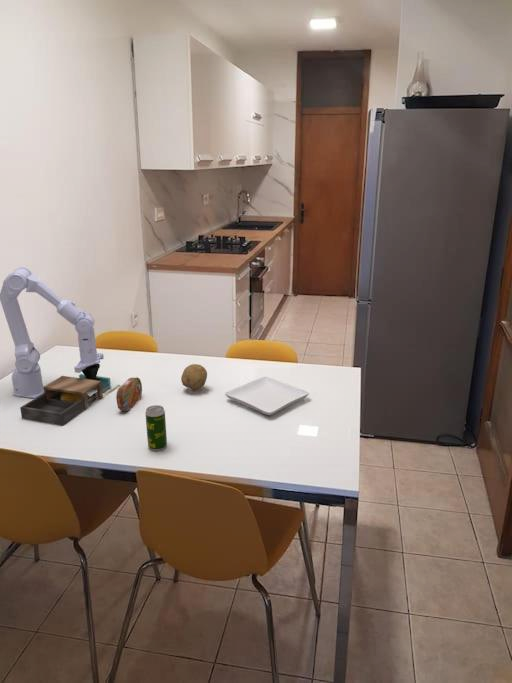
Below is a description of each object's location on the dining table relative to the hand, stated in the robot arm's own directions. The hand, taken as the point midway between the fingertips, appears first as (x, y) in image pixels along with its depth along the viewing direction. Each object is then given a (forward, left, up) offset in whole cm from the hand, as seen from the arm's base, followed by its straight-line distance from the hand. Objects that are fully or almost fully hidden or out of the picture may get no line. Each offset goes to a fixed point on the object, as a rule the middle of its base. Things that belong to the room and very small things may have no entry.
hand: (91, 384), depth 191 cm
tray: (0, -11, -2) cm, 11 cm away
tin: (+20, -8, -2) cm, 21 cm away
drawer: (0, -7, -1) cm, 7 cm away
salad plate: (+63, +9, -2) cm, 64 cm away
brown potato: (+36, +9, -2) cm, 37 cm away
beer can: (+42, -30, -2) cm, 51 cm away
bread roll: (0, -11, -2) cm, 11 cm away
